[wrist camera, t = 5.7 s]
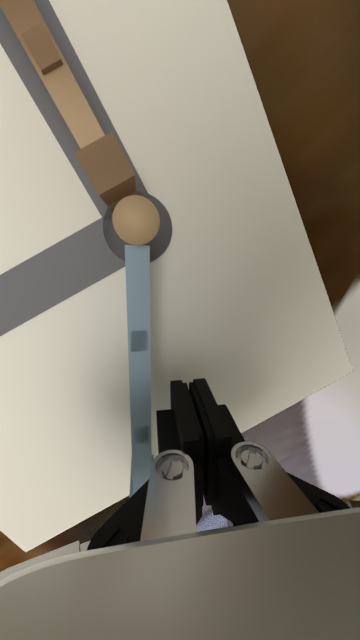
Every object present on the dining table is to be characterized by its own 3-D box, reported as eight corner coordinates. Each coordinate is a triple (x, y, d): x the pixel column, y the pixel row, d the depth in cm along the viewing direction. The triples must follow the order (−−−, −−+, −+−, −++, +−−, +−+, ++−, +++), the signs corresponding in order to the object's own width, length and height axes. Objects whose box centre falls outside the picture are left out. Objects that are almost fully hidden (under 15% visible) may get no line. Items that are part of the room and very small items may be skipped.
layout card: (88, -386, 7) (86, -417, 7) (349, 369, 15) (354, 371, 15) (-586, 9, 7) (-621, -2, 7) (27, 546, 16) (25, 553, 15)
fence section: (-87, -139, 8) (-300, -498, 4) (-53, -158, 8) (-235, -537, 4) (113, 212, 11) (98, 195, 7) (137, 198, 11) (134, 174, 7)
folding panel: (120, 210, 11) (111, 194, 7) (154, 211, 11) (159, 196, 8) (130, 474, 14) (126, 541, 11) (155, 471, 15) (159, 536, 11)
